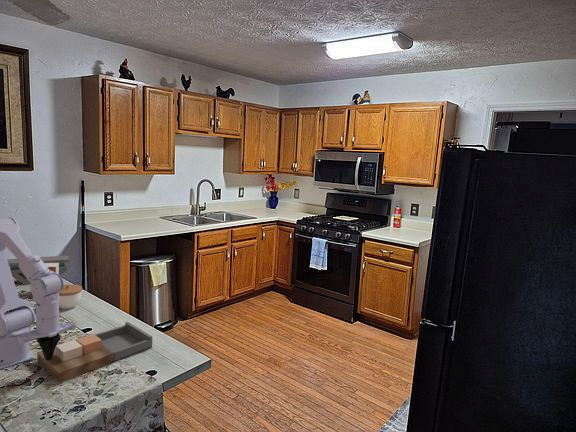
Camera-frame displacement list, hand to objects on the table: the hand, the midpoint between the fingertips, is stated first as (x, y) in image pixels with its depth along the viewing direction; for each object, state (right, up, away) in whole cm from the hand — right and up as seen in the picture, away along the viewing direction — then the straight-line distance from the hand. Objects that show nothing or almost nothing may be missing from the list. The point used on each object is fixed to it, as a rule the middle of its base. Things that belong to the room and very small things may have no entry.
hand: (48, 358), depth 114 cm
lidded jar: (-21, +4, +46) cm, 51 cm away
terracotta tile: (+7, 0, +9) cm, 12 cm away
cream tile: (+4, -1, +5) cm, 6 cm away
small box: (-37, +8, +59) cm, 70 cm away
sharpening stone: (-50, +11, +72) cm, 88 cm away
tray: (+14, -2, +18) cm, 23 cm away
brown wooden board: (+5, -3, +7) cm, 9 cm away
